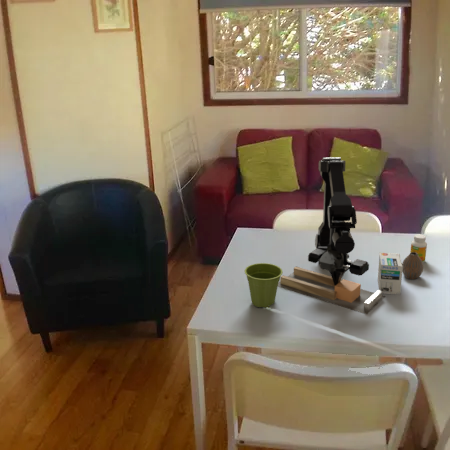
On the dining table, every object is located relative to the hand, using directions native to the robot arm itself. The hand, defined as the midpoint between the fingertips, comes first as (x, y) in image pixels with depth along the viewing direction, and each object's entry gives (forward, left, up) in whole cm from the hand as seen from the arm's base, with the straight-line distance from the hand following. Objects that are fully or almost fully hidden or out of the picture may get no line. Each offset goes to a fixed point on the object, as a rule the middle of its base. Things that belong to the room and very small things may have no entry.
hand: (336, 285), depth 173 cm
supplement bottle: (-41, +12, -4) cm, 43 cm away
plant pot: (+18, -16, -4) cm, 24 cm away
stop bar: (0, +13, -3) cm, 13 cm away
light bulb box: (-14, +12, -4) cm, 19 cm away
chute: (0, -3, -3) cm, 4 cm away
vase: (-27, +15, -4) cm, 31 cm away
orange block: (0, +4, -3) cm, 5 cm away
